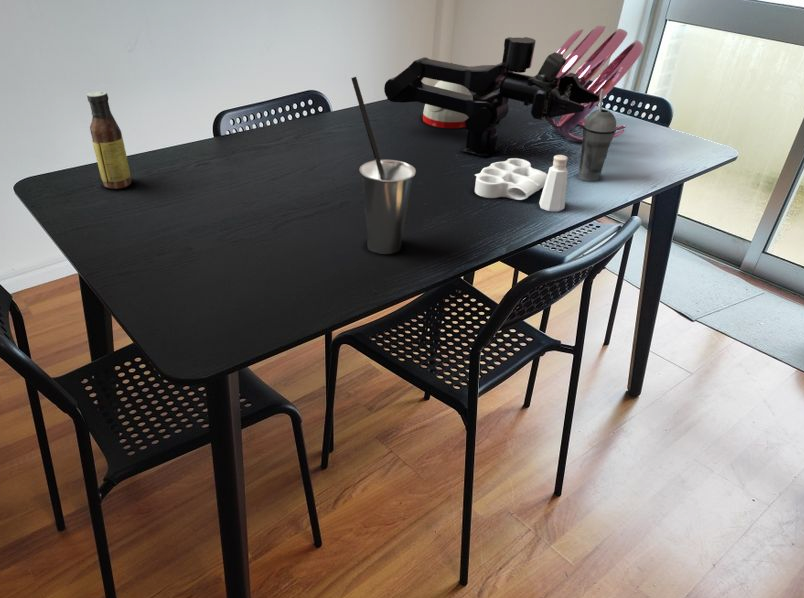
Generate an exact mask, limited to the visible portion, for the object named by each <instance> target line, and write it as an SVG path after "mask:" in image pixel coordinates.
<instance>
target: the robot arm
mask: <svg viewBox="0 0 804 598" xmlns="http://www.w3.org/2000/svg"><path fill="white" fill-rule="evenodd" d="M536 41H537V40H536V39H535V38H532V37H528V36H524V37H512V36H509V37H507V38H505V39H504V43H503V55H502V59H501V62H500V63H497V64H484V65H483V64H481V65H473V66H471V65H470V66H468V65H463V64H457V63H453V62H447V61H441V60H437V59H436V60H435V59H430V58H429V57H420V58H417V59H415V60H414V61H413V62H412V63H411V64H410V65H408V67H406V68H405V69H404V70H403V71H401V72H400V73H399V74H398V75H396V76H394V77H391V78H389V79H387V80H386V82H385V83H384V85H383V86H384V87H383V89H384V90H383V91H384V95H385V97H386V99H387V100H388V101H389V102H391V103H401V104H404V103H415V102H416V103H420V104H424V105H425V104H428V105H432V106H436V107H440V108H443V109H447V110H451V111H455V112H459V113H463V114H465V115H467V116H468V117H469V118H468V119H467V120H465V126H466V127H465V130H467V135H466V143H465V144H466V145H465V148H464V149H463V150H462V153H465V154H469V155H473V156H477V157H482V158H488V157H489V156H490V155H492V154H494V153H495V152H496V151H497V145H498V143H497V142H498V137H499V136H498V134H497V129H498V127H496V126H498V125H499V124H500V122H501V120H503V119H504V118H505V117H507V115H508V113H509V99H510V100H514V101H518V102H522V103H523V105H524V106H527V107H528V106H530V105H531V110H530V115H531V116H532V118H533V119H535V120H540V121H543V120H546V119H548V118H552V117H553V118H556V117H562V116H563V115H567V114H572V113H578V112H583V111H584V108H585V107H584V106H583V105H581V104H582V103H591V102H598V101H599V98H600V96H598V95H596V94H595V93H593V92H591V91H590V90H588V89H587V87H585V86H584V87H583V86H582V85H581V84H580V81H579V77H578V74H575V72H568V73H567V75H565V76H564V77H562V78H561V79H560V82H559V83H558V81H559V77H556V76H557V75H558V73H559V71H560V70H561V68H562V66H563V65H564V64H565V63H566V58H564V54H558V53H556V52H552V53H550V54H549V55H547V57H546V58H545V60H544V61H543V63H542V65H541V67H540V69H539V70H538V73H537V74H536V75H534V76H532V75H528V74H523V73H526V71H527V70H528V69H531V68H532V66H533V65H532V64H533V60H534V59H533V58H534V52H535V47H536ZM424 78H426V79H428V80H429V79H430V80H435V81H444V82H449V83H454V84H459V85H462V86H464V87H466V88H467V89H468V90H469V92H472V93H474V94H472V96H471V95H467V94H463V93H458V92H454V91H450V90H446V89H442V88H438V87H434V86H435V85H434V86H433V85H430V84H426V83H424V82H423V80H424ZM557 83H558V84H557ZM498 90H499V92H496V91H498ZM543 111H544V112H546V114H545V113H543Z"/></svg>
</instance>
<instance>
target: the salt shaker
mask: <svg viewBox="0 0 804 598" xmlns="http://www.w3.org/2000/svg"><path fill="white" fill-rule="evenodd" d="M568 160H569V159H568V156H566V155H564V154H556V155H554V156H553V161H552V166H550V167H549V168H548V172H547V174H548V175H547V178H546V181H545V185H544V187H542V192H541V195H540V199H539V202H538V205H539V207H540V209H542V210H543V211H546V212H556V213H558V212H561V211H563V210H564V209H565V207H566V196H567V185H568V184H567V183H568V168H567V163H568Z"/></svg>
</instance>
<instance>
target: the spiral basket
mask: <svg viewBox="0 0 804 598" xmlns="http://www.w3.org/2000/svg"><path fill="white" fill-rule="evenodd" d="M606 29H607V26H606V25H603V24H598V25H596V26H594V27H593V28H592V29H591V31H590V32H588V33H587V35H586V36H585V37H584V38H583V39H581V41H579V43H578V45H577V46H576V47H575V48H574V49H573V50H572V51H571V52H570V53H569V54H568V56H567V57H566V58H565V59H566V63H565V64H564V65H563V66H562V68H561V70H560V71H559V73H558V75H557V76H556V77H559V81H558V83H557V85H559V83H560V79H561V78H562V77H564V76H565V75H567V74H569V73H570V72H571V70H572V69H573V68H574V67H575V66H577V64H578V62H580V60H581V59H582V58H583V57H584V56H585V54H586V53H588V51H589V50H590V48H592V47H593V45H594V44H595V43H596V42H597V40H598V39H599V38H600V37H601V36H602V35H603V33H604V32H605V31H606ZM582 33H584V29H583V28H581V29H578V30H575V31H573V33H571V35H570V36H569V37H568V38H567V39H566V41H564V43H563V44H562V45H561V46H560V47H559V48H558V50H557V51H556V52H555V53H558V54H563V55H565V54H566V52H567V51H568V50H569V49H570V48H571V47H572V45H573V44H574V43H575V42H576V41H577V40H578V39H579V37H580V36H581V35H582ZM627 36H628V32H627V31H626V30H625V29H623V28H617V29H615V30H614V31H613V32H612V33H611V34H610V35H609V36H608V37H607V38H606V39H605V40H604V41H603V42H602V43H601V44H600V45H599V46H598V47H597V49H596V50H595V51H594V52H593V53H592V54H591V55H590V56H589V57H588V58H587V59H586V60H585V61H584V63H583V64H582V65H581V66H580V67H579V68H578V69H577V70H576V71H575V72H574V74H578V77H579V81H580V84H581V85H582V86H583V87H585V86H586V85H587V84H588V83H589V81H590V80H591V79H592V78H593V77H594V76H596V74H597V73H598V71H600V69H601V68H602V67H603V66H604V65H605V64H606V63H607V62H608V60H610V58H611V57H612V55H613V54H614V53H616V51H617V50H618V48H619V47H620V46H621V45H622V43H623V42H624V40H625V39H626V38H627ZM644 49H645V47H644V44H643V43H642V42H641V41H640V40H639V39H636V40H634V41H633V42H631V43H630V44H629V45H628V46H626V47H625V49H623V51H621V52H620V53H619V54H618V55H617V56H616V57H615V58H614V59H613V60H612V61H611V62H610V63H609V64H608V65H607V66H606V67H605V68H604V69H603V70H602V71H601V73H599V75H598V76H597V77H596V78H595V79H594V80H592V82H591V83H590V84H589V85H588V86H587V87H586V89H588V90H590V91H591V92H593V93H595V94H596V95H598V96H600V95H601V89H603V99H604V98H605V97H606V96H607V95H608V94H609V93H610V92H611V91H612V90H613V89H614V87H616V85H617V84H618V83H619V82H620V81H621V79H623V77H624V76H625V75H626V74H627V73H628V71H629V70H630V69H631V68H632V67H633V65H634V64H635V63H636V62H637V61H638V59H639V58H640V56H641V55H642V53H643V52H644ZM599 104H600V98H599V101H598V102H591V103H582V104H581V105H583V106H584V107H585V108H584V111H583V112H578V113H572V114H567V115H562V116H561V118H560V119H559V121H558V122H556V121H555V119H554V117H552V118H548V119H545V121H547V122H548V123H549V125H550V126H551V127H552V128H553V129H554V131H555V132H556V133H557V134H558V135H560V136H563V137H565V138H568V139H570V140H572V141H576V142H580V143H582V142H583V137H581V136H577V135H574V134H572V133H570V131H571V130H573V128H575V127H576V126H577V125H579V126H581V127H583V125H584V123H585V120H586V118H585V117H587V116H588V115H589V114H590V113H591V112H592V111H593V110H594V109H595V108H596V106H597V105H599ZM543 113H545V114H546V112H544V111H543ZM625 128H627V126H626V125H623V124H622V125H616V132H615V134H614V137H613V139H615V138H617V137H620V135H622V134H624V133H625V131H626V129H625Z"/></svg>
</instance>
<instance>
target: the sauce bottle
mask: <svg viewBox="0 0 804 598" xmlns="http://www.w3.org/2000/svg"><path fill="white" fill-rule="evenodd" d="M86 96H87V97H86V98H87V102H88V103H89V106H90V110H91V115H92V117H91V123H90V126H89V131H90V135H91V140H92V146H93V150H94V154H95V158H96V161H97V167H98V170H99V174H100V175H99V176H100V179H101V181H102V185H103V187H105V188H107V189H109V190H121V189H125V188H126V187H128V186H130V185H131V183H132V179H131V176H132V175H131V171H130V167H129V162H128V156H127V152H126V151H127V150H126V147H125V143H124V138H123V134H122V130H121V128H120V126H119V125H118V123H117V121H116V119H115V117H114V116H113V114H112V111H111V108H110V103H109V94H108V92H107V91H104V90H96V91H95V90H94V91H90V92H88V93H87V94H86Z"/></svg>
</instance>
